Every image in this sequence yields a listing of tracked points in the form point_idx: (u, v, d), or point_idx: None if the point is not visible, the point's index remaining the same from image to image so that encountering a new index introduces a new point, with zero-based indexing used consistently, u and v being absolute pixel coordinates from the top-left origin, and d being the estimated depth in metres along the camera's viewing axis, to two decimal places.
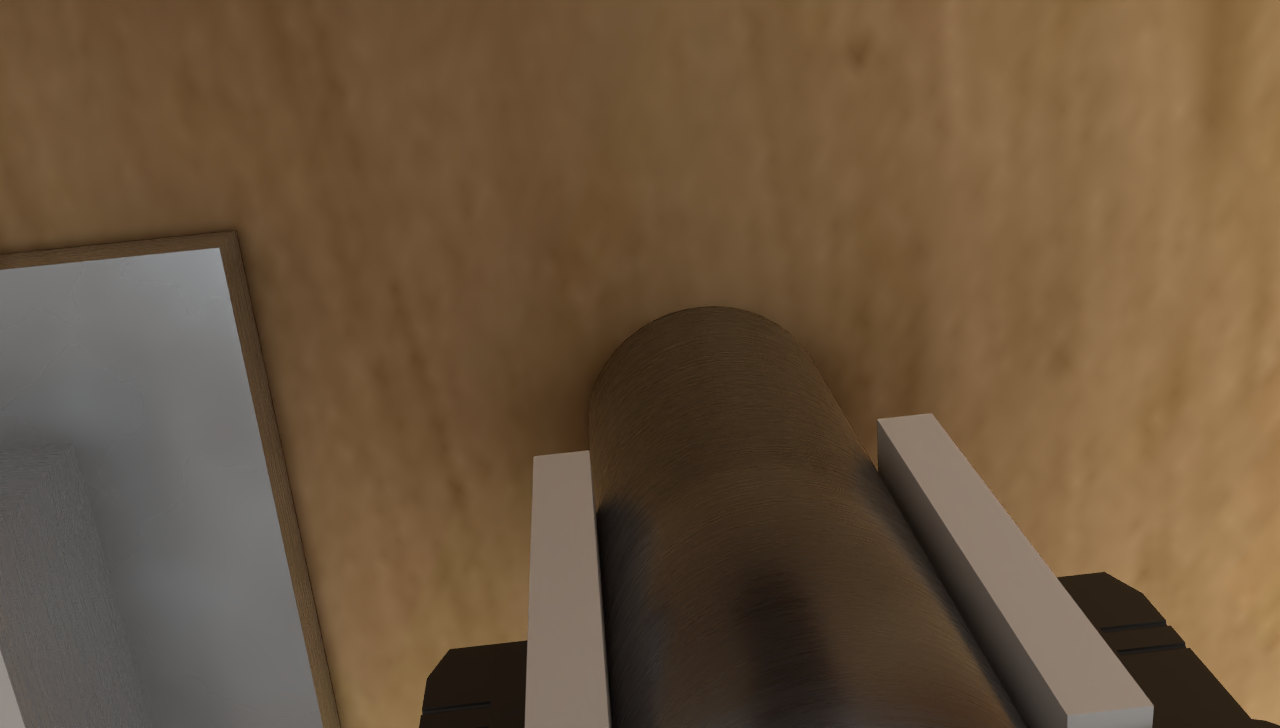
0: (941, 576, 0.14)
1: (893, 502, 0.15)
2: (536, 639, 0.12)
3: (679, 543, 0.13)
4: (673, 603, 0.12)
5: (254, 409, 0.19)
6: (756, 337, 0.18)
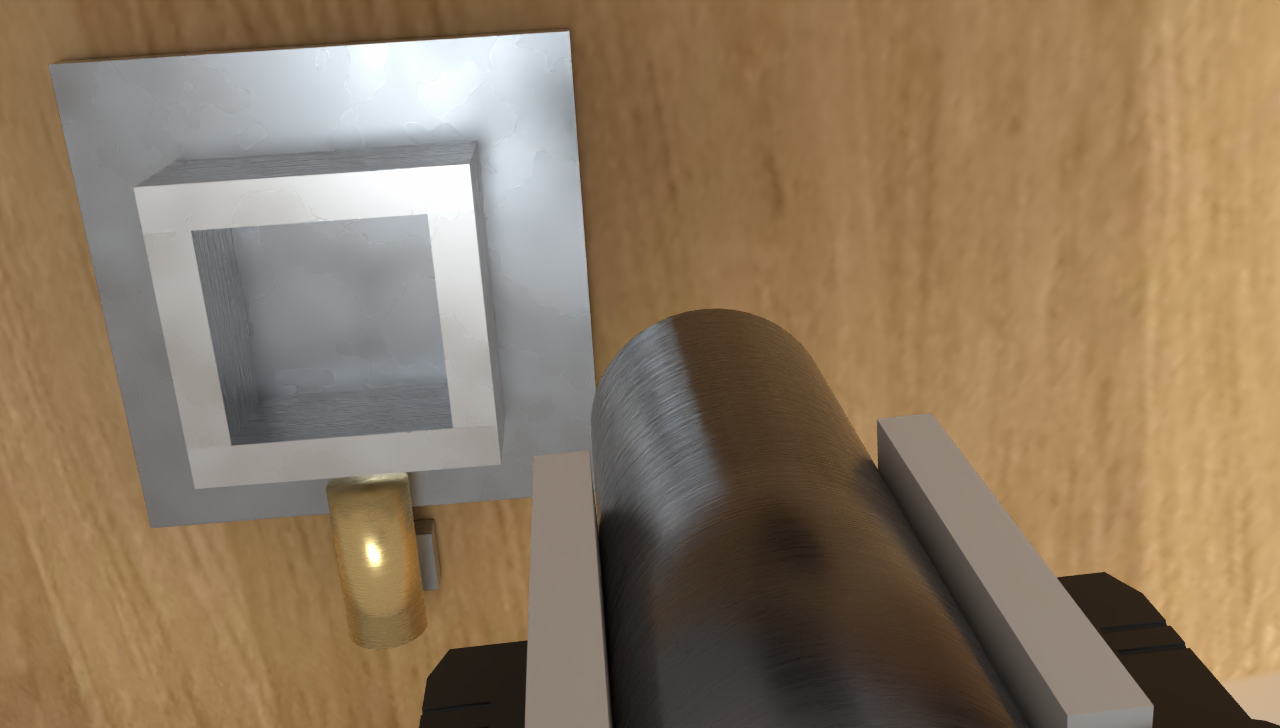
0: (941, 576, 0.14)
1: (896, 504, 0.15)
2: (536, 639, 0.12)
3: (683, 545, 0.13)
4: (678, 606, 0.12)
5: None
6: (758, 339, 0.18)
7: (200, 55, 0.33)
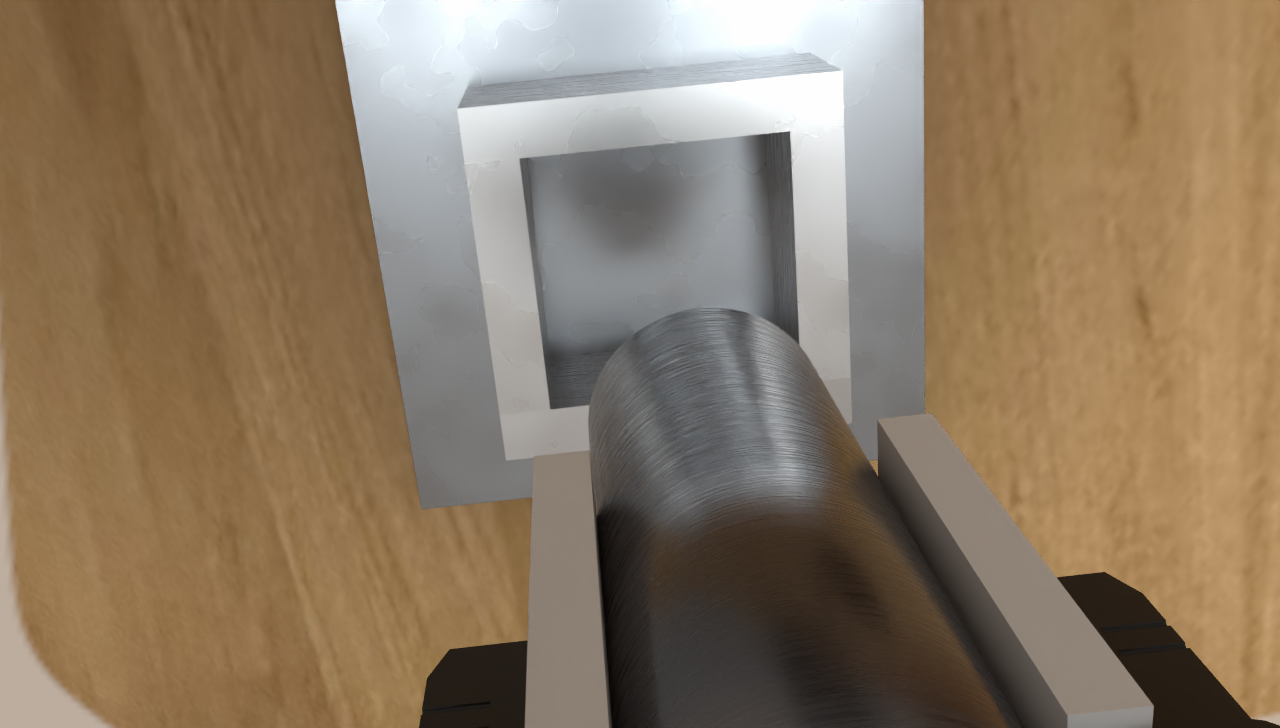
0: (941, 576, 0.14)
1: (889, 501, 0.15)
2: (536, 639, 0.12)
3: (677, 540, 0.13)
4: (672, 600, 0.12)
5: (923, 31, 0.30)
6: (754, 337, 0.19)
7: None
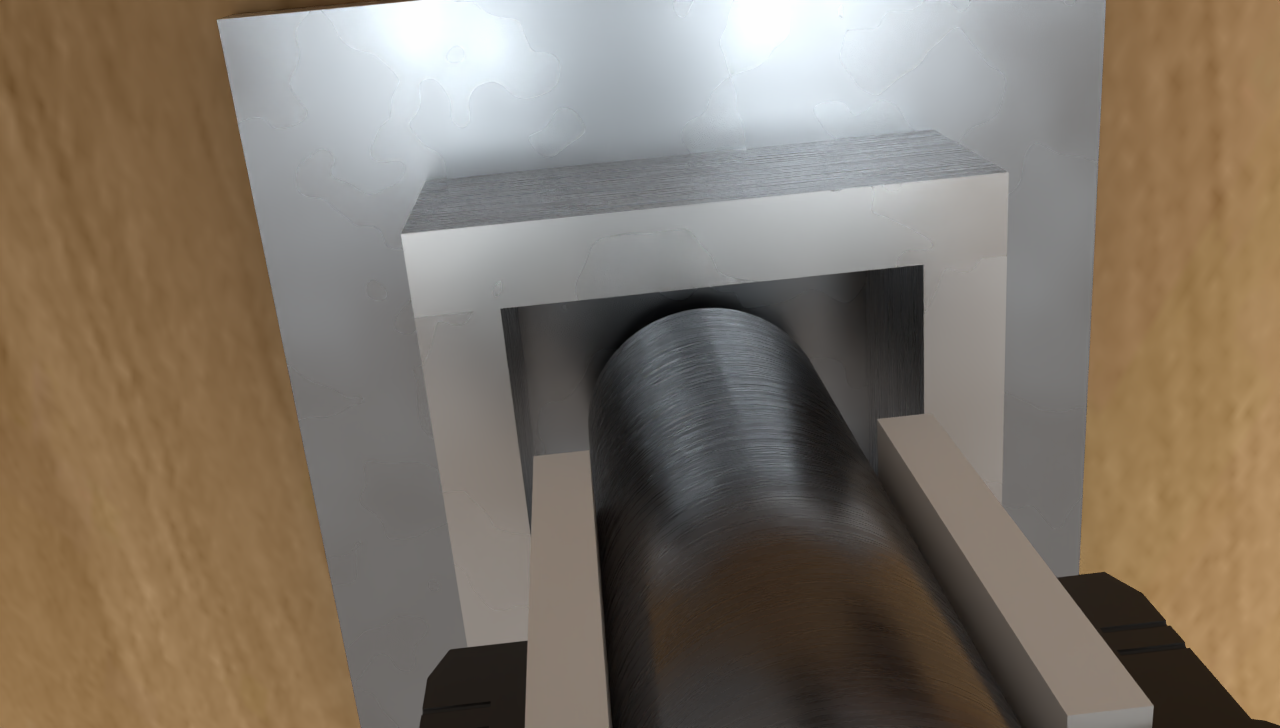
0: (941, 576, 0.14)
1: (889, 501, 0.15)
2: (536, 639, 0.12)
3: (678, 540, 0.13)
4: (672, 600, 0.12)
5: (1100, 98, 0.20)
6: (754, 337, 0.19)
7: None
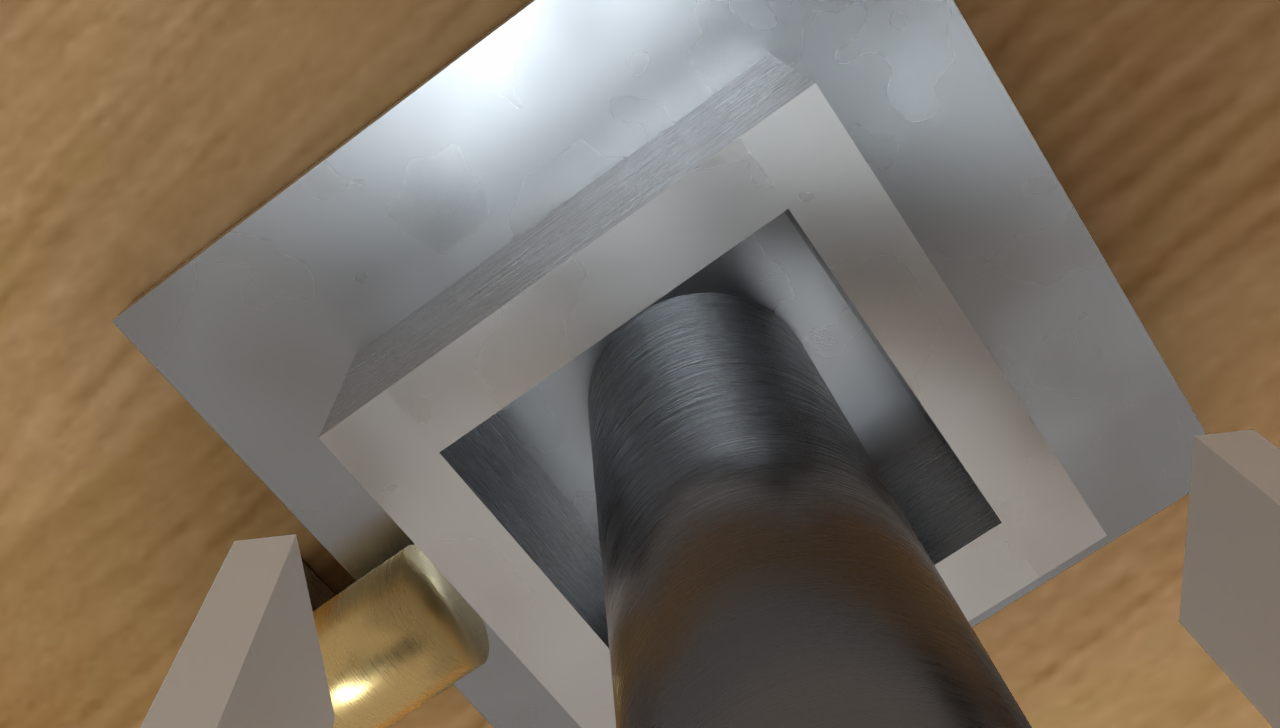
0: None
1: (877, 472, 0.16)
2: None
3: (676, 507, 0.14)
4: (672, 561, 0.13)
5: (1105, 544, 0.23)
6: (747, 321, 0.19)
7: (958, 12, 0.19)
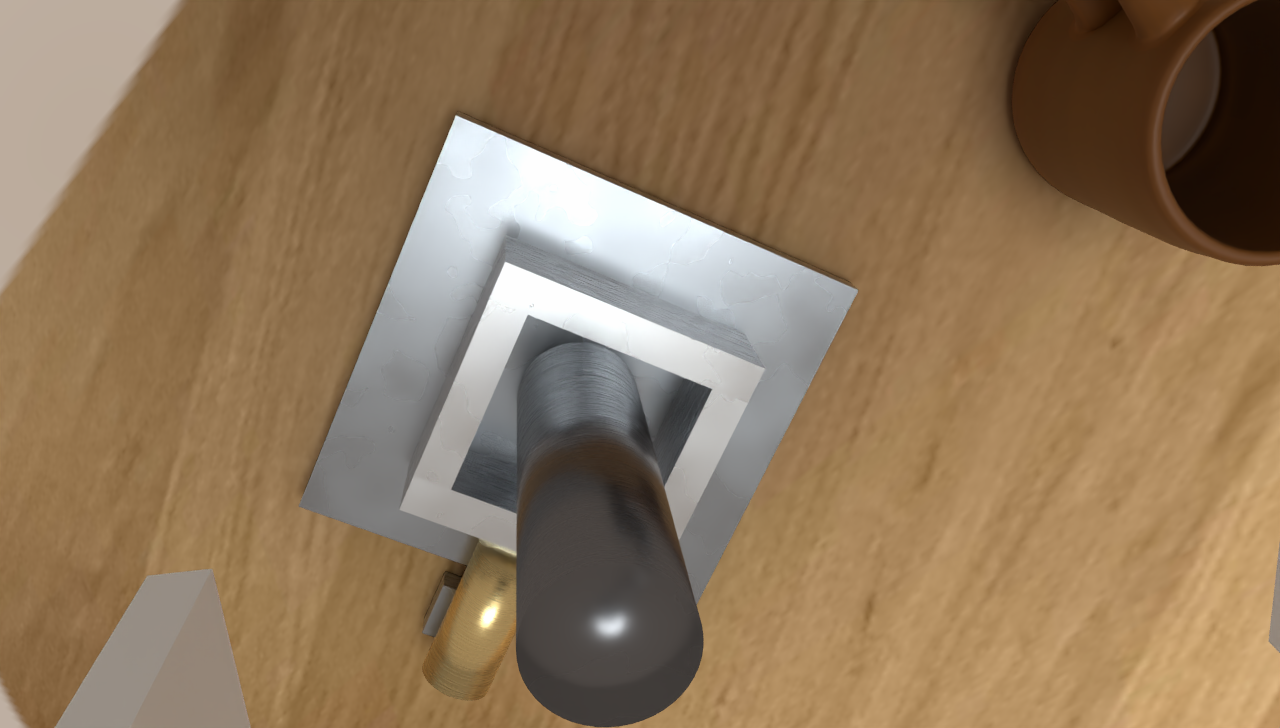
0: None
1: (611, 406, 0.34)
2: None
3: (521, 466, 0.33)
4: (519, 487, 0.32)
5: (822, 358, 0.40)
6: (562, 357, 0.38)
7: (577, 168, 0.38)
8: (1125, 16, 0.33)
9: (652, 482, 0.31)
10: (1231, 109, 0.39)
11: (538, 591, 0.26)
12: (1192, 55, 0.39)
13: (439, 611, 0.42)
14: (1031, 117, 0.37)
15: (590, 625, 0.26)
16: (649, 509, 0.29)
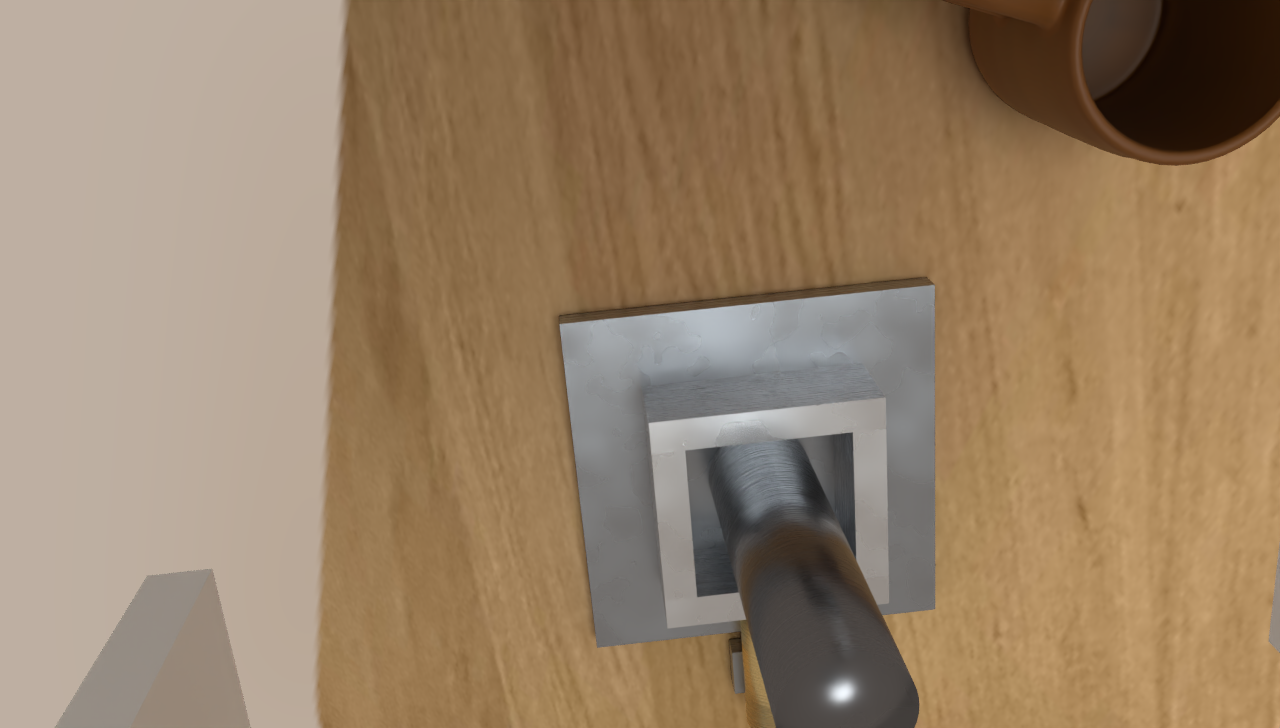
0: None
1: (779, 494, 0.41)
2: None
3: (734, 574, 0.41)
4: None
5: (934, 349, 0.46)
6: (729, 457, 0.46)
7: (667, 312, 0.45)
8: None
9: (830, 555, 0.38)
10: None
11: (776, 699, 0.33)
12: None
13: (739, 672, 0.51)
14: (1001, 90, 0.42)
15: (825, 705, 0.33)
16: (833, 588, 0.36)
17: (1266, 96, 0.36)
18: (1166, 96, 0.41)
